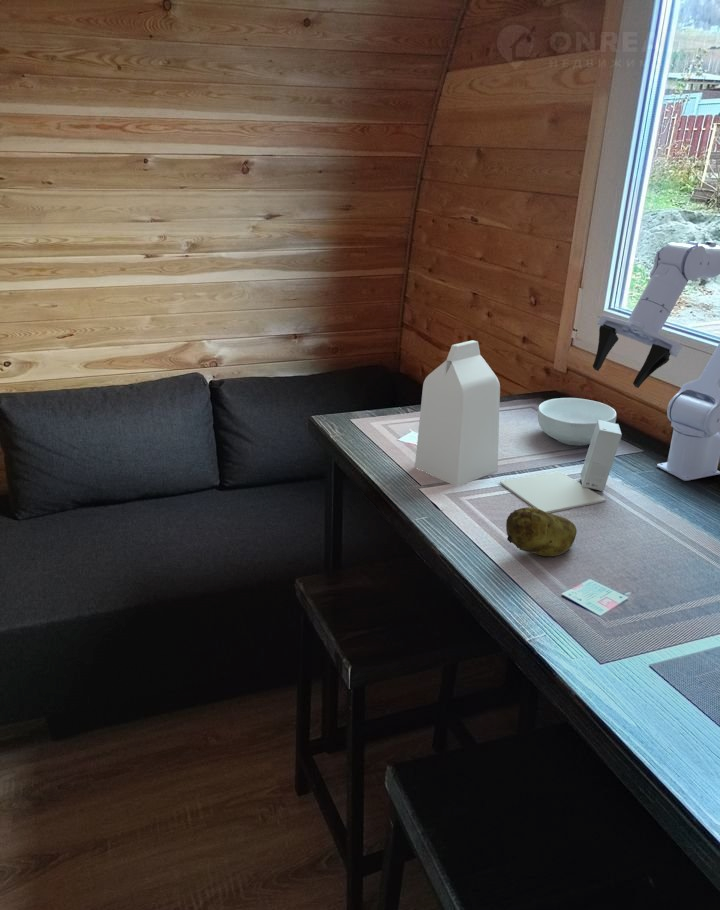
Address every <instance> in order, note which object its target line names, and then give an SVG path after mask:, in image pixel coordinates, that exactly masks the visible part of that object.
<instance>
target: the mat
mask: <svg viewBox="0 0 720 910" xmlns="http://www.w3.org/2000/svg"><path fill="white" fill-rule="evenodd" d="M499 484H500V485H501V486H503V487H504V488H505V489H507V490H509V491H510V492H511V493H513V494H514V495H515V496H517V497H518V498H520V499H521V500H523V501H524V502H525V503H526V504H528V505H530V507H532V508H537V509H540V510H543V511H544V512H546V513H550V514H552V513H555V512H559V511H560V512H561V511H564V510H569V509H570V510H571V509H574V508H580V507H584V506H588V505H589V506H590V505H594V504H599V503H602V502H603V503H604V502H606V500H607V498H604V497H603V496H602V495H599V494H598V493H597V492H595V491H593V490H592V489H591V488H587V487H583V486H582V483H580V482H579V481H577V480H575V479H574V478H572V477H570V476H569V475H567V474H566V473H563V472H562V471H560V470H555V471H549V472H545V473H538V474H534V475H527V476H523V477H517V478H512V479H506V480H500V481H499Z"/></svg>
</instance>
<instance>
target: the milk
mask: <svg viewBox="0 0 720 910" xmlns="http://www.w3.org/2000/svg"><path fill="white" fill-rule="evenodd" d="M480 350H481V349H480V344H479V341H477V340H472V339H471V340H469V341H467V340H466V341H463V342H459V343H455V344H452V345H451V347H450V350H449V352H448V355H447V357H446V360H445V361H444V362H443V363H441V364H440V365H439V366H438V367H436V368H435V369H434V370H433V371H432V372H430V373H429V374H428V375H427V376H426V377H425V379H424V381H423V384H422V392H421V393H422V394H421V403H420V411H419V413H420V414H419V424H418V433H417V442H416V444H417V445H416V453H415V462H414V468H415V467H416V468H418V469H420V470H423V471H424V472H423V471H422V472H423V473H425V472H427V473H429V474H431V475H430V476H432V475H433V476H432V477H434V476H435V477H434V478H436V477H437V478H436V479H438V478H439V479H438V480H441V481H443V482H446V483H447V484H450V485H452V486H454V487H457V488H458V487H460V486H463V485H466V484H468V483H471V482H473V481H476V480H478V479H480V478H481V479H482V477H483V478H484V477H486V476H488V475H491V474H494V473H496V472H498V470H499V469H498V467H499V465H498V463H499V433H500V432H499V431H500V430H499V429H500V405H501V403H500V400H501V398H500V397H501V385H500V384H501V383H500V381H499V378H498V377H497V375H496V374H495V372H494V371H493V370H492V368H491V367H490V366H489V363H487V362H486V360H485V359H484V358H483V356H482V355H481V351H480ZM416 468H415V469H416ZM418 469H417V470H418ZM420 470H419V471H420ZM427 473H426V474H427ZM429 474H428V475H429Z"/></svg>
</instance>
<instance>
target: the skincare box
mask: <svg viewBox="0 0 720 910" xmlns="http://www.w3.org/2000/svg"><path fill="white" fill-rule="evenodd" d="M622 436H623V435H622V431H621V428H620V425H619V423H616V422H615V423H611V422H606V421H602V420H597V423H596V427H595V430H594V433H593V436H592V439H591V443H590V444H589V447H588V449H587V453H586V456H585V459H584V462H583V465H582V470H581V471H580V478H581V480H580V481H581V484H582V486H583V487H586V488H588V489H590V490H596V491H601V492H604V491H605V488H606V485H607V481H608V478H609V476H610V473H611V469H612V467H613V463H614V462H615V461H614V460H615V457H616V454H617V452H618V448H619V445H620V442H621V439H622Z"/></svg>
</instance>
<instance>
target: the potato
mask: <svg viewBox="0 0 720 910" xmlns="http://www.w3.org/2000/svg"><path fill="white" fill-rule="evenodd" d="M505 523H506V524H505V526H506V527H505V528H506V535H507V539H506V540H507V541H508V542H509V543H512V544H513V545H514V546H515V547H516V548H517V549H519V550H520V551H523V552H528V553H532V554H536V555H538V556H543V557H555V556H558V555H561V554H564V553H566V552H567V551H568V550H569V549H570V548H571V547H572V546H573V544H574V541H575V539H576V537H577V536H576V535H577V531H578V529H577V527H576V525H575V523H573V522H572V521H571V520H570V519H568V518H566V517H563V516H560V515H557V514H553V513H546V512H544V511H543V510H540V509H537V508H534V507H532V506H530V507H522V508H518V509H514V510H513V511H512V512H510V514H508V517H507V518H506V522H505Z"/></svg>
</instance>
